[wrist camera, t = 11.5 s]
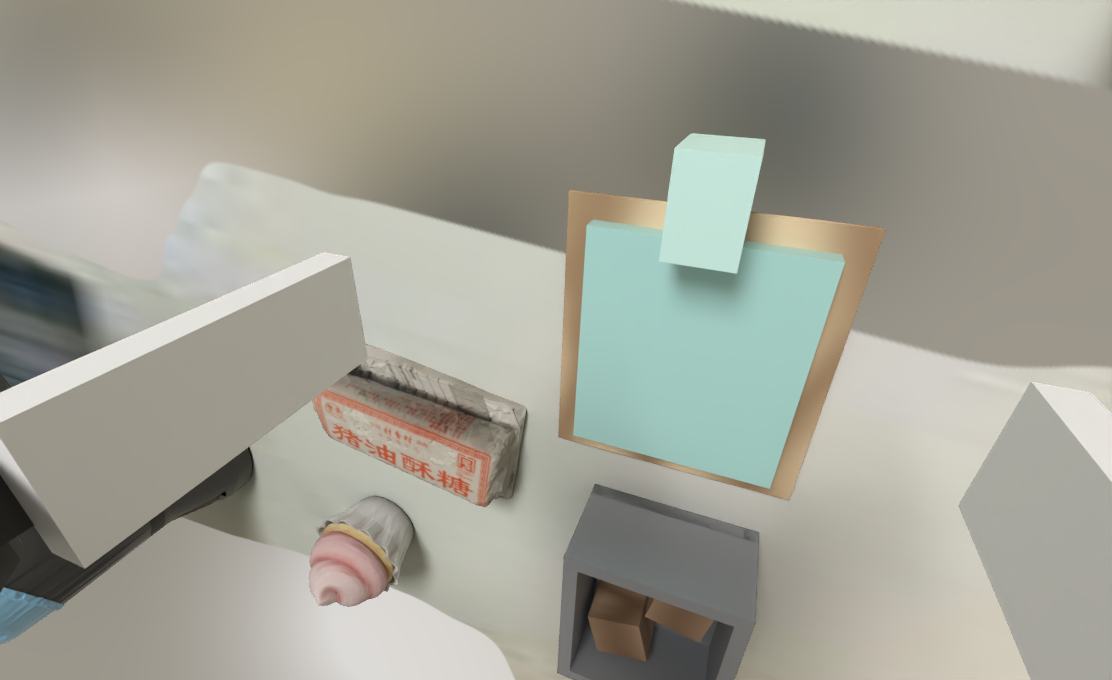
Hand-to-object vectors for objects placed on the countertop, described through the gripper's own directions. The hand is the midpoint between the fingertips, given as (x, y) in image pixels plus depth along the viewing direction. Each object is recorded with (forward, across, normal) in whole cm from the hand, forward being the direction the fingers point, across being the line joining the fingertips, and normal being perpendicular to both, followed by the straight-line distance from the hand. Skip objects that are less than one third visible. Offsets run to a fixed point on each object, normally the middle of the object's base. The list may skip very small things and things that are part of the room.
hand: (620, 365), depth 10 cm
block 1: (+18, -1, -33) cm, 38 cm away
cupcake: (+20, -26, -36) cm, 49 cm away
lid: (+19, 0, -8) cm, 21 cm away
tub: (+20, +1, -30) cm, 36 cm away
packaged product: (+20, -20, -21) cm, 35 cm away
